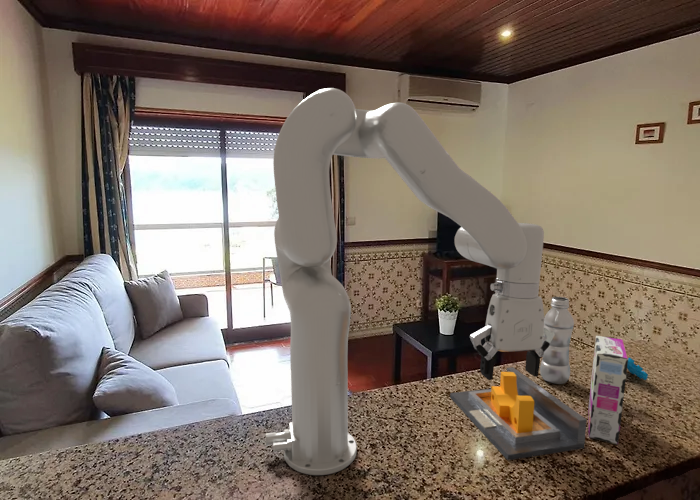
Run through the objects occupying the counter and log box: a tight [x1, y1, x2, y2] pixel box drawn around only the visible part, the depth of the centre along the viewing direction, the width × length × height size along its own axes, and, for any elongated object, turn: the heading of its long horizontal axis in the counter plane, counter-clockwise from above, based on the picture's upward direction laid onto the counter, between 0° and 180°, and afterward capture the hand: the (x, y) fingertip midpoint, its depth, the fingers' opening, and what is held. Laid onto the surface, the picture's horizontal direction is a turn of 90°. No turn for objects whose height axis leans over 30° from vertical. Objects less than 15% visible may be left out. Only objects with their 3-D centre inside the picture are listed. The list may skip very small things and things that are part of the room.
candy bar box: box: [587, 335, 629, 445], centre depth 80 cm, size 11×5×16 cm, turn 152°
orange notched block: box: [490, 371, 534, 434], centre depth 83 cm, size 12×4×6 cm, turn 176°
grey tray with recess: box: [449, 366, 588, 461], centre depth 84 cm, size 15×22×6 cm
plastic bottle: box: [539, 296, 575, 385], centre depth 99 cm, size 6×7×20 cm
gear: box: [627, 356, 649, 381], centre depth 103 cm, size 11×6×10 cm
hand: (509, 375), depth 83 cm, fingers open, 9 cm apart
